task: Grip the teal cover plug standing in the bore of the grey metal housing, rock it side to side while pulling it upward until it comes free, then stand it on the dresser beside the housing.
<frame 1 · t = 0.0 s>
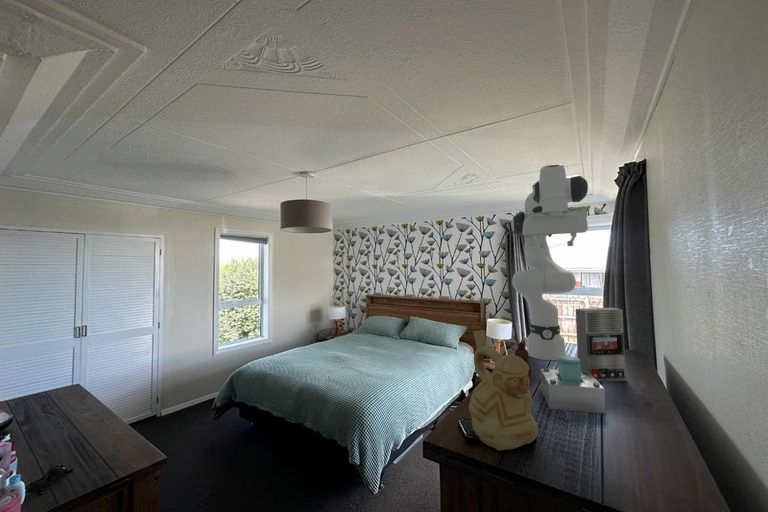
hand: (555, 246, 114), 48 cm above the dresser, tool pointing down, fingers open, 8 cm apart
housing: (570, 400, 97), on the dresser
ceramic vessel: (501, 437, 78), on the dresser
cassette tape recorder: (602, 380, 113), on the dresser
cover plug: (569, 379, 97), in the housing
wooden figurine: (522, 380, 115), on the dresser
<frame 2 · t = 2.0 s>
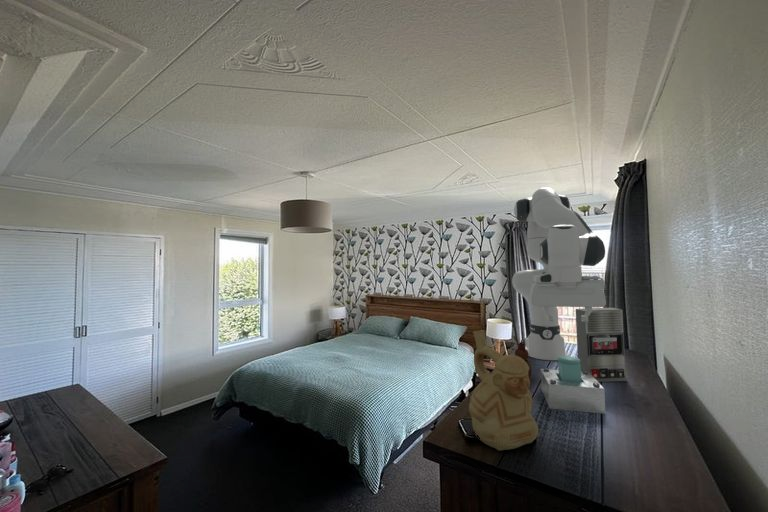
hand: (567, 321, 97), 24 cm above the dresser, tool pointing down, fingers open, 8 cm apart
nothing on the dresser moved.
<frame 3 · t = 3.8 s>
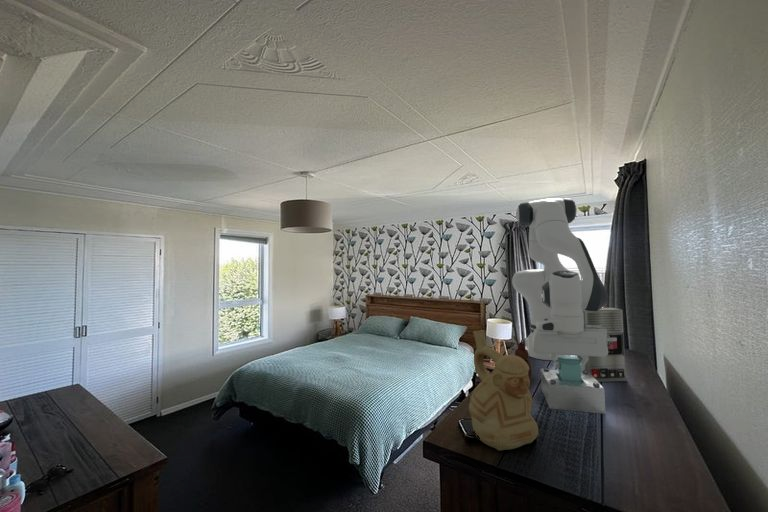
hand: (569, 369, 97), 10 cm above the dresser, tool pointing down, fingers closed on cover plug, 5 cm apart
cover plug: (569, 379, 97), in the housing, touching gripper
everything else where it was.
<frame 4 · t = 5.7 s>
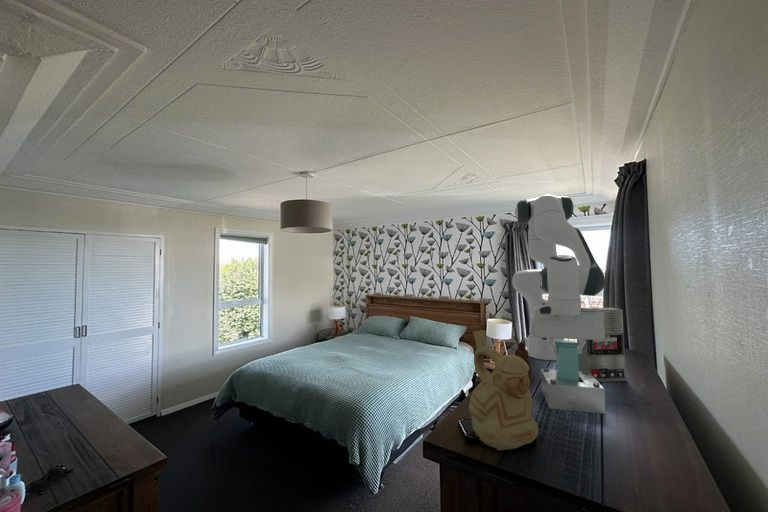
hand: (566, 352, 97), 15 cm above the dresser, tool pointing down, fingers closed on cover plug, 5 cm apart
cover plug: (566, 363, 97), point 11 cm above the dresser, touching gripper
everything else where it was.
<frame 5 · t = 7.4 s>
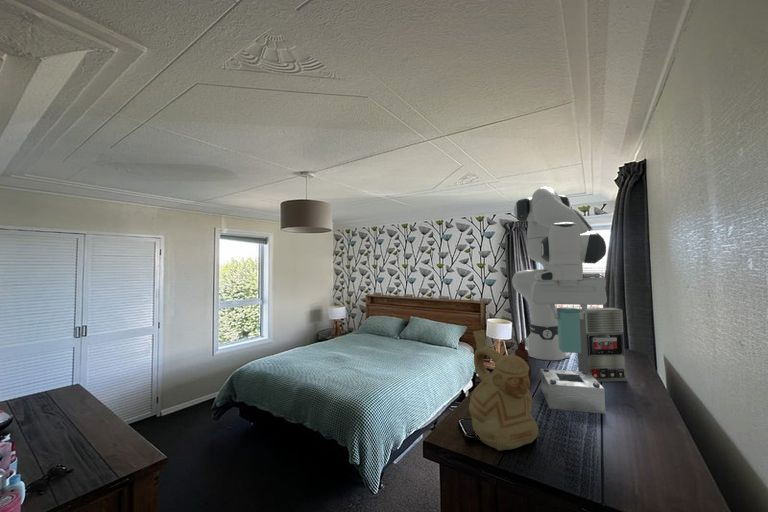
hand: (568, 319, 97), 25 cm above the dresser, tool pointing down, fingers closed on cover plug, 5 cm apart
cover plug: (568, 329, 97), point 22 cm above the dresser, touching gripper
everything else where it was.
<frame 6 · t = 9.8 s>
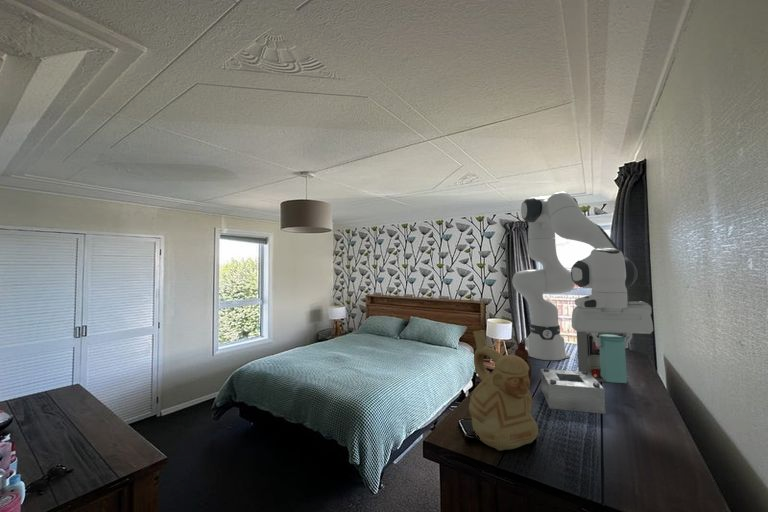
hand: (611, 347, 95), 16 cm above the dresser, tool pointing down, fingers closed on cover plug, 5 cm apart
cover plug: (612, 358, 95), point 13 cm above the dresser, touching gripper
everything else where it was.
when the fingers open (11 cm above the dresser, at t = 11.4 s): cover plug moves 2 cm, on the dresser.
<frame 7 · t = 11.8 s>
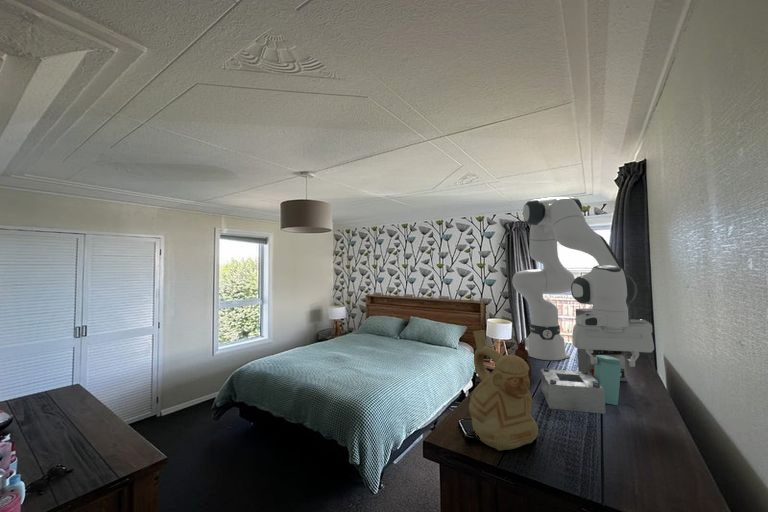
hand: (612, 365, 95), 11 cm above the dresser, tool pointing down, fingers open, 8 cm apart
cover plug: (606, 379, 96), on the dresser, tilted 7°, touching gripper
everything else where it was.
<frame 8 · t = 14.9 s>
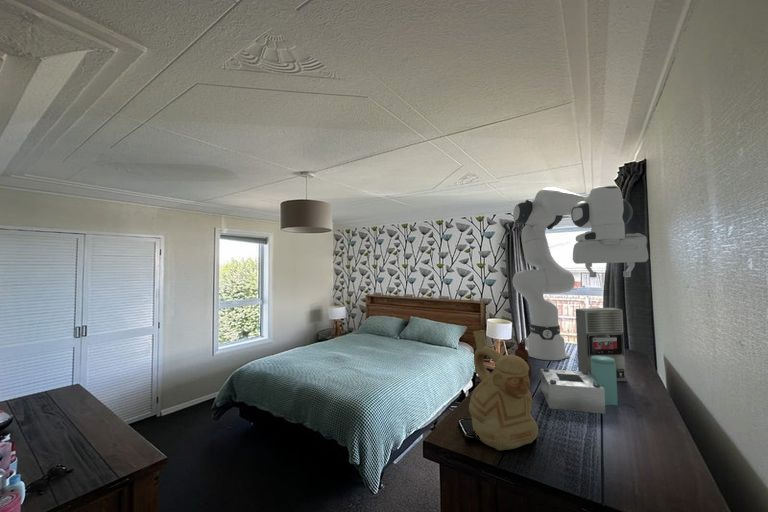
hand: (609, 277, 102), 37 cm above the dresser, tool pointing down, fingers open, 8 cm apart
cover plug: (603, 379, 96), on the dresser
everything else where it was.
at the end: cover plug inside the target area (2.4 cm from its centre), on the dresser; cover plug tilted 0°; the gripper is holding nothing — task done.
